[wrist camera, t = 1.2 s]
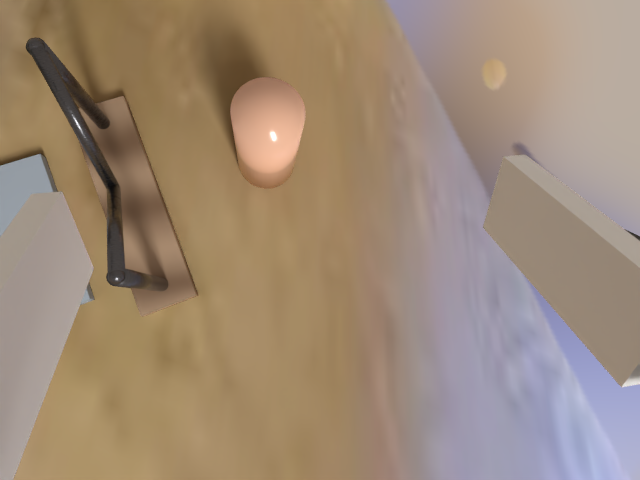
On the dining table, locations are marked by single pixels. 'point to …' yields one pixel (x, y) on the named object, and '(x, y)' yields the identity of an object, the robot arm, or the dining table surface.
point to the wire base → (140, 209)
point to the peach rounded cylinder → (267, 130)
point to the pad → (26, 191)
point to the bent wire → (93, 161)
